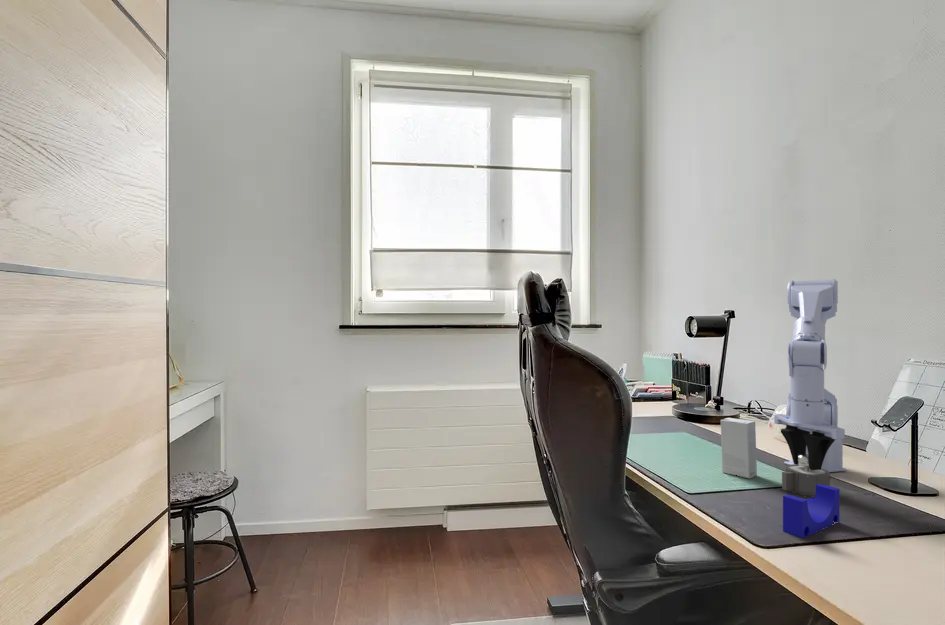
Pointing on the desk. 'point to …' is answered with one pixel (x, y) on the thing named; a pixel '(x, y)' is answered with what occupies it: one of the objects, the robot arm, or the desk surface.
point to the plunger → (803, 461)
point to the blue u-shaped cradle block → (811, 511)
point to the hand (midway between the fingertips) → (807, 466)
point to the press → (804, 479)
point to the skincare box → (738, 447)
